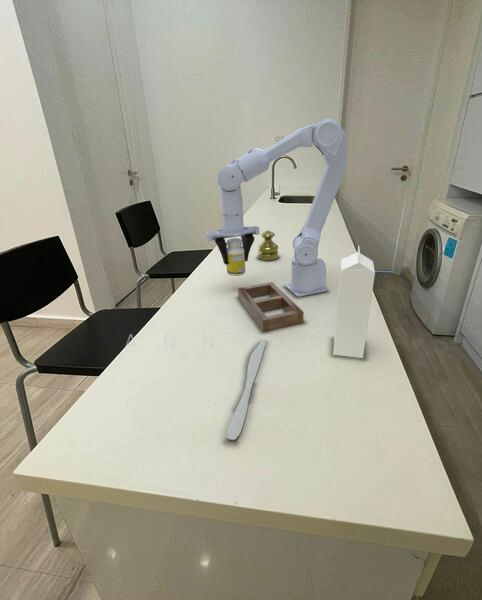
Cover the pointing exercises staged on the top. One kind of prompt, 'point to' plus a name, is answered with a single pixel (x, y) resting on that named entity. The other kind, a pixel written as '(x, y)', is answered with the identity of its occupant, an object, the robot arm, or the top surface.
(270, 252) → the brass tiered ornament
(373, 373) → the top surface
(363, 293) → the milk
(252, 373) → the butter knife
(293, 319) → the divided wooden frame
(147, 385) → the top surface
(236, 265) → the supplement bottle
